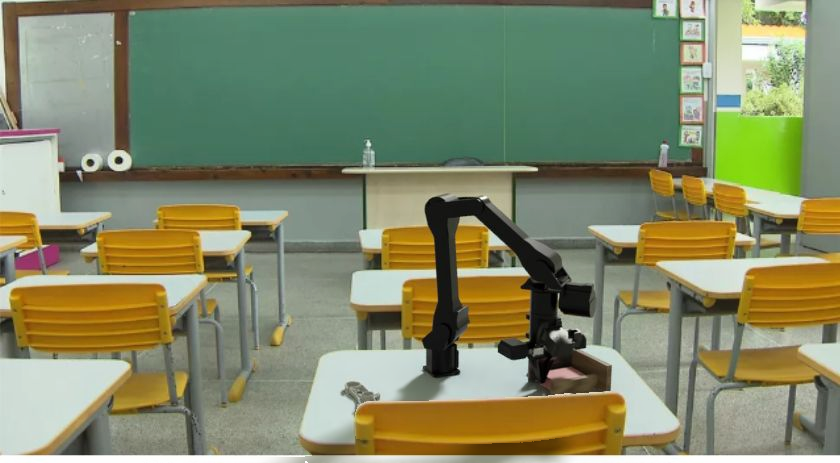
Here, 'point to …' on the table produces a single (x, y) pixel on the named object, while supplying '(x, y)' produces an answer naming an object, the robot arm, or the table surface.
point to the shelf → (593, 379)
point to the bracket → (366, 395)
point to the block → (560, 375)
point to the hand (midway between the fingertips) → (541, 383)
